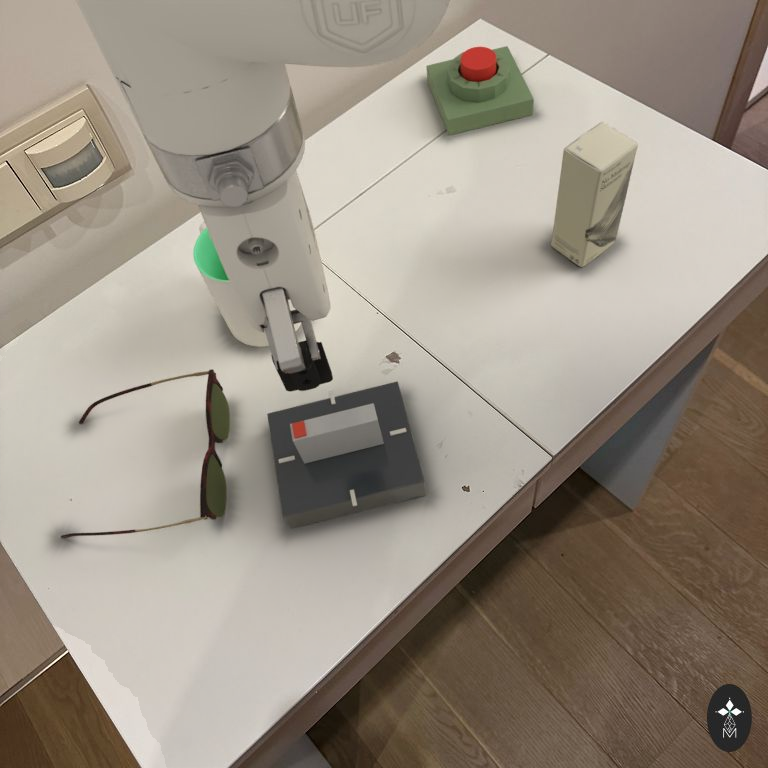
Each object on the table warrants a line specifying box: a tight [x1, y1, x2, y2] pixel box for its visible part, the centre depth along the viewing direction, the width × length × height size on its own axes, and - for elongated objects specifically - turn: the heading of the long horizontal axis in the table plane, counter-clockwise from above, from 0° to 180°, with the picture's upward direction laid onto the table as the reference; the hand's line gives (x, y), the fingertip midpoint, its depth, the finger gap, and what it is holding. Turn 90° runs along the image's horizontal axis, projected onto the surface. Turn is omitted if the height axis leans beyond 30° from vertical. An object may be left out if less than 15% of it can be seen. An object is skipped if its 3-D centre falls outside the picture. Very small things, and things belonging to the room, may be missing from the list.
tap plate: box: [266, 381, 428, 529], centre depth 65 cm, size 12×11×3 cm
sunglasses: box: [60, 368, 231, 539], centre depth 67 cm, size 14×15×5 cm
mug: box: [192, 221, 302, 348], centre depth 72 cm, size 12×8×10 cm, turn 42°
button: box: [460, 46, 496, 82], centre depth 84 cm, size 4×4×2 cm
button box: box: [425, 45, 535, 136], centre depth 87 cm, size 10×10×4 cm
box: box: [550, 121, 639, 268], centre depth 70 cm, size 5×4×13 cm
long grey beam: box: [290, 403, 384, 464], centre depth 62 cm, size 7×2×5 cm, turn 102°
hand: (298, 325), depth 52 cm, fingers open, 9 cm apart
